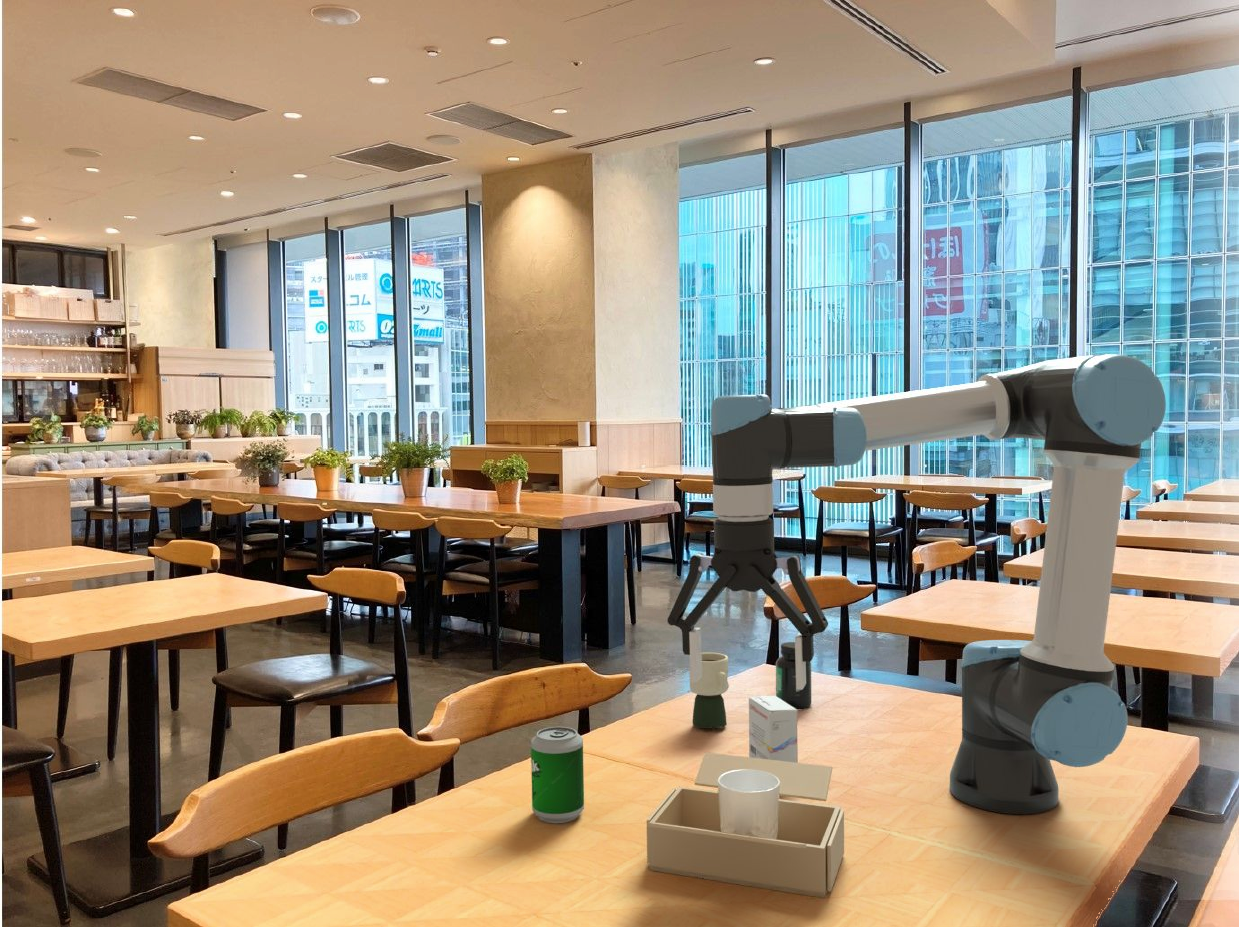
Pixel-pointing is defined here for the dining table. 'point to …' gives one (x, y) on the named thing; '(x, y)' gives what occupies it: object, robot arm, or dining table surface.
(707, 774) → the flap far
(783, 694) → the supplement bottle
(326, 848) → the dining table surface
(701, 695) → the character mug
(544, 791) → the soda can
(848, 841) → the dining table surface
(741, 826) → the white cup
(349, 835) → the dining table surface
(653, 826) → the flap near
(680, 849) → the carton
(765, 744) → the ink box
